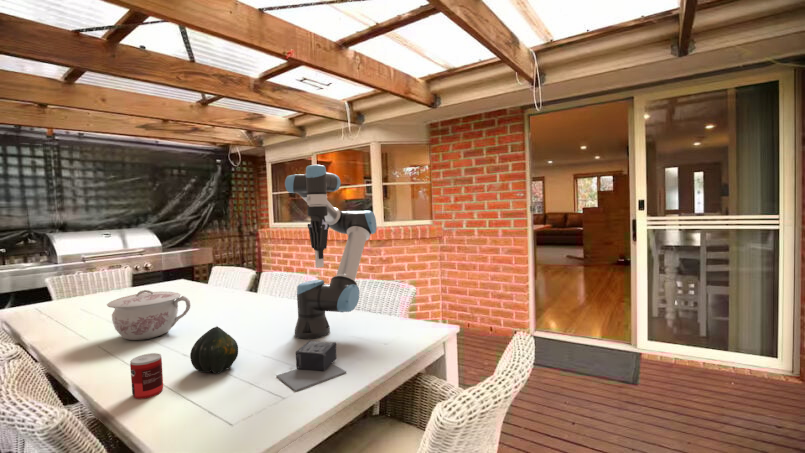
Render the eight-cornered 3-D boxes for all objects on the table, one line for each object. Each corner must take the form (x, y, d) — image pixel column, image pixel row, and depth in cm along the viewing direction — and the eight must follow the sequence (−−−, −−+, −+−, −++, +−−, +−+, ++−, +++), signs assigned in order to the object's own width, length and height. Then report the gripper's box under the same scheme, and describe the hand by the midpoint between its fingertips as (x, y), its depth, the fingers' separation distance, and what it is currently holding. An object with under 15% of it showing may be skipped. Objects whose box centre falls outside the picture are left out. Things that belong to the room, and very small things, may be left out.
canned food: (142, 388, 117) (139, 353, 116) (168, 386, 118) (166, 352, 117) (126, 400, 109) (123, 364, 109) (154, 398, 110) (152, 362, 109)
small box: (295, 370, 126) (324, 372, 123) (294, 351, 125) (323, 353, 123) (310, 357, 136) (337, 359, 134) (309, 340, 136) (336, 341, 133)
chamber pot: (94, 342, 161) (91, 295, 160) (157, 323, 186) (154, 282, 185) (137, 349, 150) (133, 299, 149) (197, 328, 176) (194, 285, 175)
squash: (198, 368, 117) (225, 324, 125) (173, 361, 125) (200, 320, 133) (231, 384, 126) (254, 342, 134) (206, 376, 134) (229, 337, 142)
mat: (276, 376, 122) (276, 375, 122) (325, 360, 134) (325, 359, 134) (295, 391, 112) (295, 390, 112) (346, 373, 123) (346, 371, 123)
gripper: (300, 206, 145) (302, 266, 146) (316, 205, 135) (319, 270, 136) (317, 206, 150) (320, 264, 151) (334, 205, 140) (337, 267, 141)
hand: (319, 266), depth 143 cm, fingers closed
